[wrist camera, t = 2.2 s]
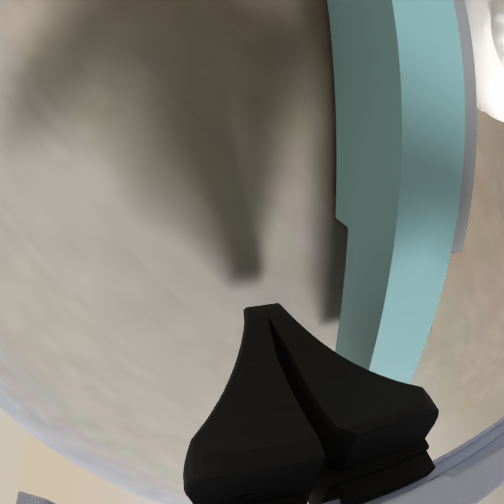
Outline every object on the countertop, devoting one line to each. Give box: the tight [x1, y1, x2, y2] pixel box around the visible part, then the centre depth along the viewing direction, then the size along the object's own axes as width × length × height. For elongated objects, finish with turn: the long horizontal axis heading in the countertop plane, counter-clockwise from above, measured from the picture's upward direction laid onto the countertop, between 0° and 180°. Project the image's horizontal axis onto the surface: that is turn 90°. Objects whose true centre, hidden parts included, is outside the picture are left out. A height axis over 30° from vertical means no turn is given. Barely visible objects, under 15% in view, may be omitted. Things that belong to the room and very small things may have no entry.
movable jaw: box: [327, 0, 477, 384], centre depth 8 cm, size 3×25×4 cm, turn 3°
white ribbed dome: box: [465, 0, 504, 122], centre depth 7 cm, size 6×6×7 cm
